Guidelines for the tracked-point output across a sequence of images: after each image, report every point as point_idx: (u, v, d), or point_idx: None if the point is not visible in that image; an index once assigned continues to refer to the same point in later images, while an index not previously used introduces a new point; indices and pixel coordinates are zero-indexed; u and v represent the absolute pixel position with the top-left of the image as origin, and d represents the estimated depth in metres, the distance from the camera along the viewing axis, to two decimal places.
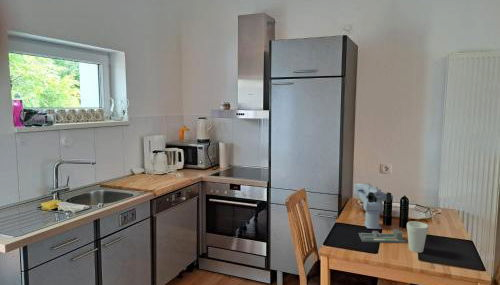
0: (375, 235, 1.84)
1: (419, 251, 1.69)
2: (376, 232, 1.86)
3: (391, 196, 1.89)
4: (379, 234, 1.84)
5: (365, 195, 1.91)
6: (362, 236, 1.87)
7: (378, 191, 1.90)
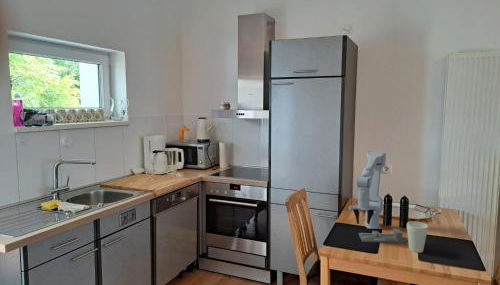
0: (375, 235, 1.84)
1: (419, 251, 1.69)
2: (376, 232, 1.86)
3: (375, 210, 1.84)
4: (379, 234, 1.84)
5: (349, 208, 1.85)
6: (362, 236, 1.87)
7: (364, 209, 1.82)
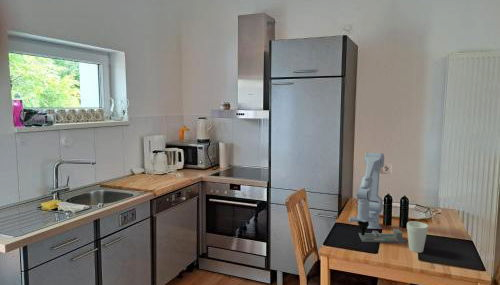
0: (375, 235, 1.84)
1: (419, 251, 1.69)
2: (376, 232, 1.86)
3: (375, 222, 1.84)
4: (379, 234, 1.84)
5: (349, 219, 1.85)
6: (362, 236, 1.87)
7: None
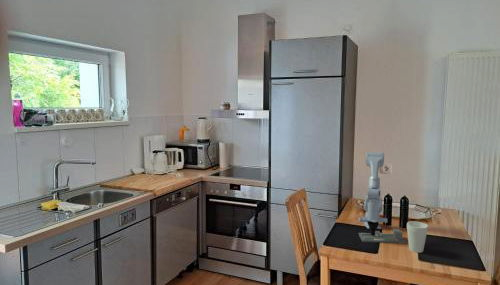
0: (376, 235, 1.84)
1: (419, 251, 1.69)
2: (377, 232, 1.85)
3: (385, 222, 1.84)
4: (380, 234, 1.84)
5: (359, 220, 1.85)
6: (362, 236, 1.87)
7: None
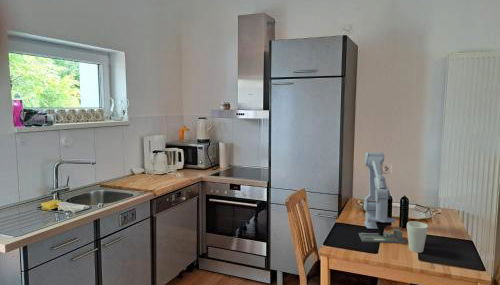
0: (385, 235, 1.83)
1: (419, 251, 1.69)
2: (386, 232, 1.85)
3: (393, 222, 1.84)
4: (389, 234, 1.83)
5: (367, 220, 1.85)
6: (362, 236, 1.87)
7: None
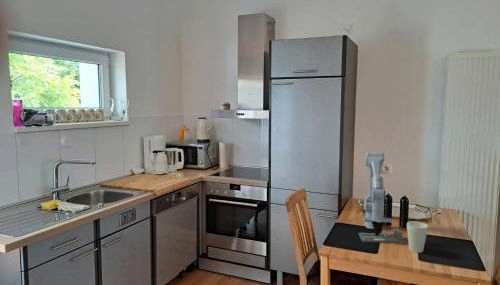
0: (385, 235, 1.83)
1: (419, 251, 1.69)
2: (386, 232, 1.85)
3: None
4: (389, 234, 1.83)
5: (363, 220, 1.85)
6: (362, 236, 1.87)
7: None
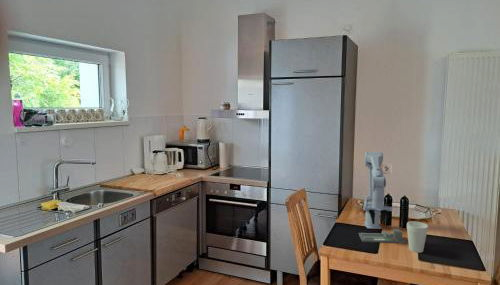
0: (385, 235, 1.83)
1: (419, 251, 1.69)
2: (386, 232, 1.85)
3: (390, 210, 1.83)
4: (389, 234, 1.83)
5: (364, 208, 1.84)
6: (362, 236, 1.87)
7: (378, 210, 1.81)
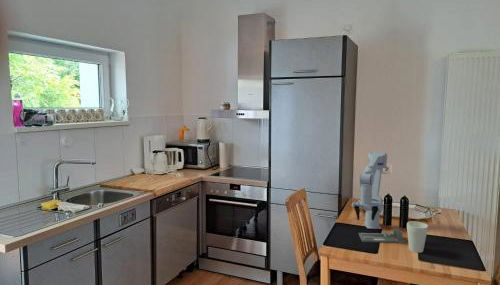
0: (385, 235, 1.83)
1: (419, 251, 1.69)
2: (386, 232, 1.85)
3: (378, 207, 1.86)
4: (389, 234, 1.83)
5: (352, 204, 1.87)
6: (362, 236, 1.87)
7: None
